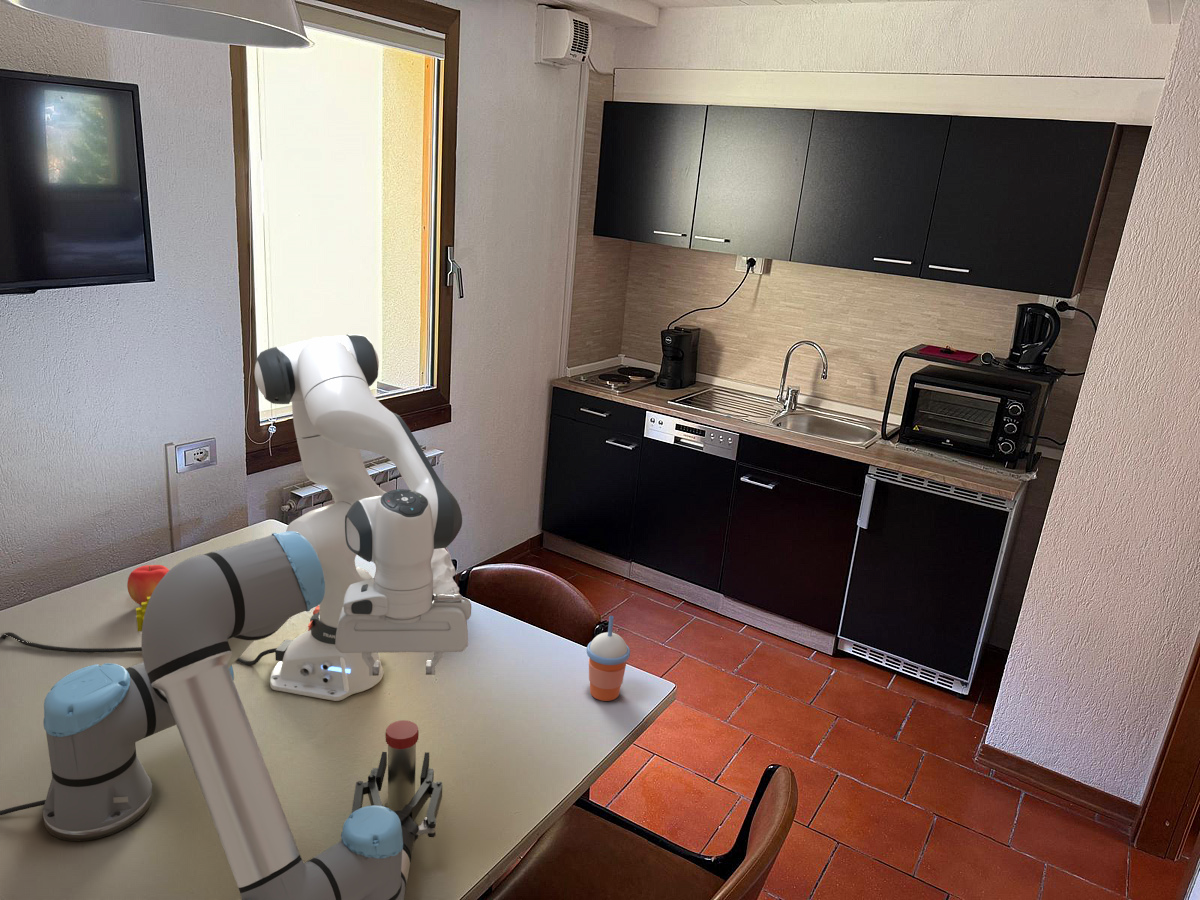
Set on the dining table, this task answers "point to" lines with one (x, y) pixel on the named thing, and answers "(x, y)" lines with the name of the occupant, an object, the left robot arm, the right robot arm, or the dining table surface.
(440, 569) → the skull
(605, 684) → the cup with straw
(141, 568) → the apple
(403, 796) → the jar
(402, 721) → the lid
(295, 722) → the dining table surface
